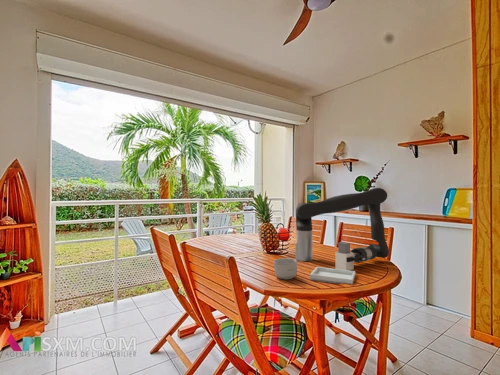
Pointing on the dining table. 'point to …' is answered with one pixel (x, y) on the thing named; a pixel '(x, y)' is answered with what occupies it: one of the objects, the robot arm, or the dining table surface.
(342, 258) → the beige rectangular block
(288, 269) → the teacup
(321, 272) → the tray
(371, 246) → the robot arm
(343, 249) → the block
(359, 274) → the dining table surface
